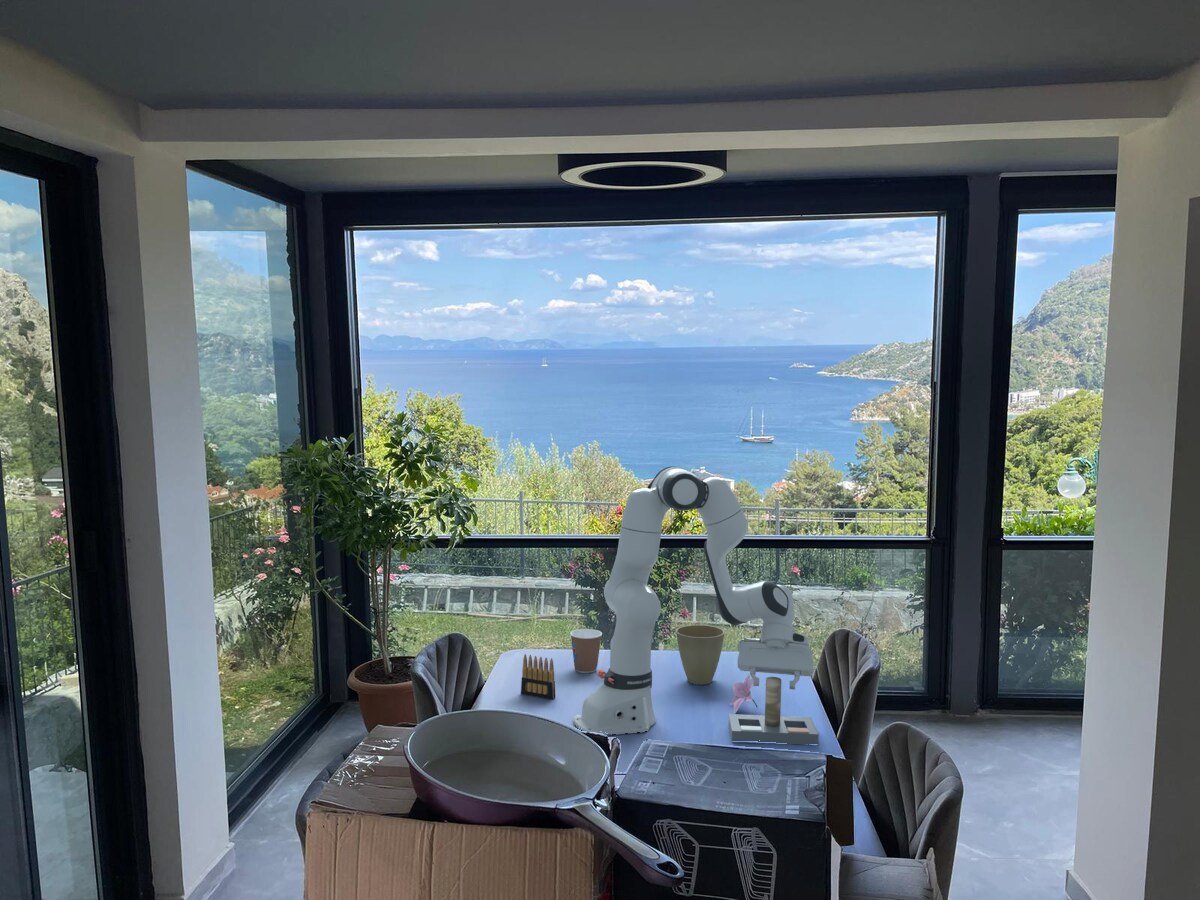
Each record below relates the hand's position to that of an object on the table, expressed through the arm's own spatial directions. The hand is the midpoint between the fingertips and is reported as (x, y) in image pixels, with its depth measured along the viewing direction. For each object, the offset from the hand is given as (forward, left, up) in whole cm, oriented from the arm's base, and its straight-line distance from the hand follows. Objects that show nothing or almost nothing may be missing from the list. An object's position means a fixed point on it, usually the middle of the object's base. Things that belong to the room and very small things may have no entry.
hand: (774, 686), depth 236 cm
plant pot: (+3, +43, -12) cm, 45 cm away
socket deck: (-2, -2, -12) cm, 12 cm away
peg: (-2, -2, -9) cm, 9 cm away
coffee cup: (-25, +67, -12) cm, 72 cm away
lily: (+2, +18, -12) cm, 22 cm away
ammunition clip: (-48, +50, -12) cm, 70 cm away
